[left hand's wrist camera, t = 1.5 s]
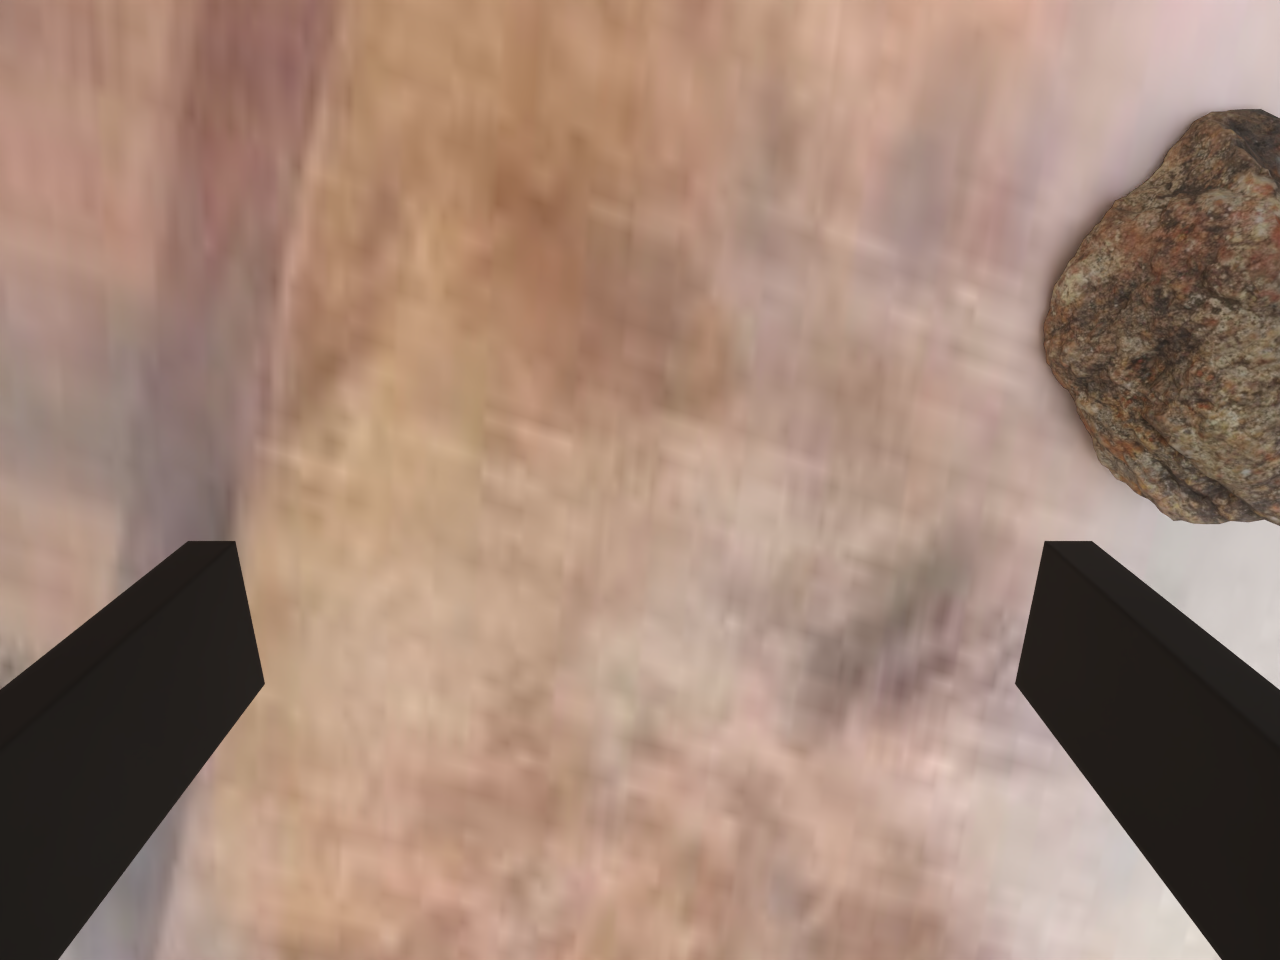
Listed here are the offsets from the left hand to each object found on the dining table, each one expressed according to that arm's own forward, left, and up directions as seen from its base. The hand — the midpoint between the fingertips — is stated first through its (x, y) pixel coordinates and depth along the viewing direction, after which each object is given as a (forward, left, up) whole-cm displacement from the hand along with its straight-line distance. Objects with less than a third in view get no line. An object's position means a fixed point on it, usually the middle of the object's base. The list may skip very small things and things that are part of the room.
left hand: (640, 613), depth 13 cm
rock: (+21, +6, -21) cm, 30 cm away
